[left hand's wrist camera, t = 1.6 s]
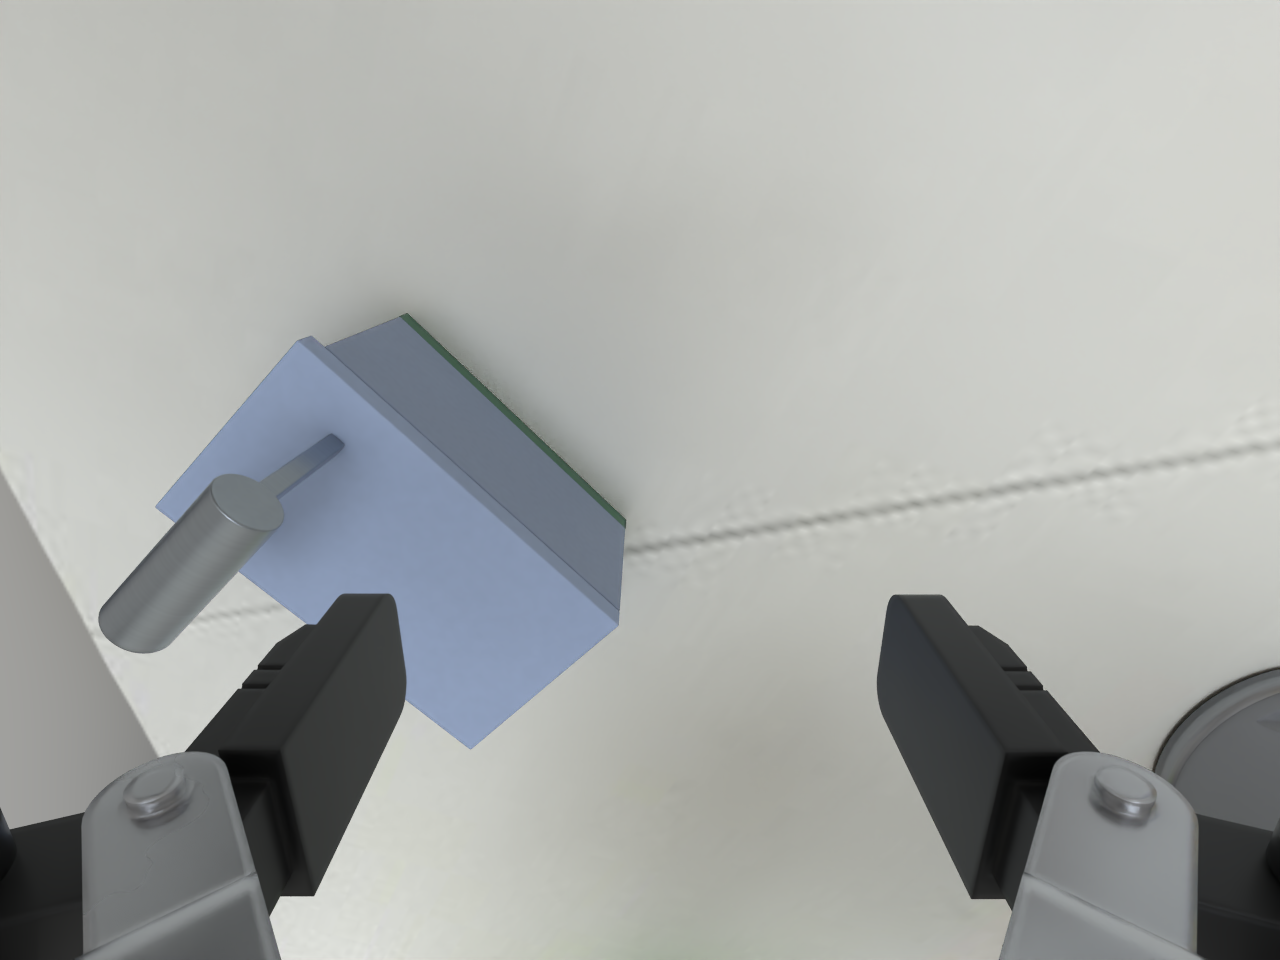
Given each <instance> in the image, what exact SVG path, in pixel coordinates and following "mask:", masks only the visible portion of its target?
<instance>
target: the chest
mask: <svg viewBox="0 0 1280 960" xmlns="http://www.w3.org/2000/svg"><path fill="white" fill-rule="evenodd" d="M325 348H326V349H327V350H328V351H329V352H330V353H332V354H333V355H334V356H335V357H336V358H337V359H338V360H339V361H340V362H342V363H343V364H344V365H345V366H346V367H347V368H348V369H349V370H351V371H352V372H353V373H354V374H355V375H356V376H357V377H358V378H359V379H361V380H362V381H363V382H364V383H365V384H366V385H367V386H368V387H369V388H371V389H372V390H373V391H374V392H375V393H376V394H377V395H378V396H380V397H381V398H382V399H383V400H384V401H385V402H386V403H387V404H388V405H390V406H391V407H392V408H393V409H394V410H395V411H396V412H397V413H399V414H400V415H401V416H402V417H403V418H404V419H405V420H406V421H407V422H409V423H410V424H411V425H412V426H413V427H414V428H415V429H416V430H417V431H419V432H420V433H421V434H422V435H423V436H424V437H425V438H426V439H428V440H429V441H430V442H431V443H432V444H433V445H434V446H435V447H436V448H438V449H439V450H440V451H441V452H442V453H443V454H444V455H445V456H446V457H448V458H449V459H450V460H451V461H452V462H453V463H454V464H455V465H457V466H458V467H459V468H460V469H461V470H462V471H463V472H464V473H465V474H467V475H468V476H469V477H470V478H471V479H472V480H473V481H474V482H476V483H477V484H478V485H479V486H480V487H481V488H482V489H483V490H484V491H486V492H487V493H488V494H489V495H490V496H491V497H492V498H493V499H494V500H496V501H497V502H498V503H499V504H500V505H501V506H502V507H503V508H505V509H506V510H507V511H508V512H509V513H510V514H511V515H512V516H513V517H515V518H516V519H517V520H518V521H519V522H520V523H521V524H522V525H524V526H525V527H526V528H527V529H528V530H529V531H530V532H531V533H532V534H534V535H535V536H536V537H537V538H538V539H539V540H540V541H541V542H542V543H544V544H545V545H546V546H547V547H548V548H549V549H550V550H551V551H553V552H554V553H555V554H556V555H557V556H558V557H559V558H560V559H561V560H563V561H564V562H565V563H566V564H567V565H568V566H569V567H570V568H571V569H573V570H574V571H575V572H576V573H577V574H578V575H579V576H580V577H582V578H583V579H584V580H585V581H586V582H587V583H588V584H589V585H590V586H592V587H593V588H594V589H595V590H596V591H597V592H598V593H599V594H601V595H602V596H603V597H604V598H605V599H606V600H607V601H608V602H609V603H611V604H612V605H613V606H614V607H615V608H616V609H617V610H618V611H619V610H620V597H621V582H622V566H623V551H624V536H625V528H626V520H625V519H624V518H623V517H622V516H621V515H620V514H619V513H618V512H617V511H616V510H615V509H614V508H613V507H612V506H611V505H610V504H609V503H607V502H606V501H605V500H604V499H603V498H602V497H601V496H600V495H599V494H598V493H597V492H596V491H595V490H594V489H593V488H592V487H591V486H589V485H588V484H587V483H586V482H585V481H584V480H583V479H582V478H581V477H580V476H579V475H578V474H577V473H576V472H575V471H574V470H573V469H571V468H570V467H569V466H568V465H567V464H566V463H565V462H564V461H563V460H562V459H561V458H560V457H559V456H558V455H557V454H556V453H555V452H554V451H552V450H551V449H550V448H549V447H548V446H547V445H546V444H545V443H544V442H543V441H542V440H541V439H540V438H539V437H538V436H537V435H536V434H534V433H533V432H532V431H531V430H530V429H529V428H528V427H527V426H526V425H525V424H524V423H523V422H522V421H521V420H520V419H519V418H518V417H516V416H515V415H514V414H513V413H512V412H511V411H510V410H509V409H508V408H507V407H506V406H505V405H504V404H503V403H502V402H501V401H500V400H499V399H497V398H496V397H495V396H494V395H493V394H492V393H491V392H490V391H489V390H488V389H487V388H486V387H485V386H484V385H483V384H482V383H481V382H479V381H478V380H477V379H476V378H475V377H474V376H473V375H472V374H471V373H470V372H469V371H468V370H467V369H466V368H465V367H464V366H463V365H461V364H460V363H459V362H458V361H457V360H456V359H455V358H454V357H453V356H452V355H451V354H450V353H449V352H448V351H447V350H446V349H445V348H443V347H442V346H441V345H440V344H439V343H438V342H437V341H436V340H435V339H434V338H433V337H432V336H431V335H430V334H429V333H428V332H427V331H426V330H424V329H423V328H422V327H421V326H420V325H419V324H418V323H417V322H416V321H415V320H414V319H413V318H412V317H411V316H410V315H409V314H408V313H407V314H404V315H402V316H400V317H398V318H396V319H393V320H391V321H388V322H386V323H383V324H381V325H378V326H376V327H373V328H371V329H368V330H366V331H363V332H361V333H358V334H356V335H353V336H351V337H348V338H345V339H343V340H340V341H338V342H335V343H333V344H330V345H328V346H325Z"/></svg>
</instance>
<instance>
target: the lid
mask: <svg viewBox="0 0 1280 960" xmlns="http://www.w3.org/2000/svg"><path fill="white" fill-rule="evenodd" d="M156 508H157V509H158V510H159V511H161V512H162V513H163V514H165V515H166V516H167V517H168V518H170V519H171V520H172V521H174V522H175V524H174V525H173V526H172V527H171V528H170V530H169V531H168V532H167V533H166V534H165V535H164V536H163V538H162V539H161V540H160V541H159V542H158V543H157V544H156V546H155V547H154V548H153V549H152V550H151V551H150V552H149V554H148V555H147V556H146V557H145V558H144V559H143V560H142V562H141V563H140V564H139V565H138V566H137V567H136V568H135V570H134V571H133V572H132V573H131V574H130V575H129V576H128V578H127V579H126V580H125V581H124V582H123V583H122V584H121V586H120V587H119V588H118V589H117V590H116V591H115V592H114V594H113V595H112V596H111V597H110V598H109V599H108V600H107V602H106V603H105V604H104V605H103V606H102V608H101V610H100V612H99V626H100V628H101V631H102V632H103V634H104V635H105V636H106V638H107V639H108V640H109V641H111V642H112V643H113V644H115V645H116V646H118V647H120V648H122V649H124V650H127V651H130V652H135V653H153V652H157V651H160V650H162V649H164V648H166V647H167V646H169V645H170V644H171V643H172V642H173V641H174V640H175V639H176V637H177V636H178V635H179V634H180V633H181V632H182V631H183V630H184V629H185V628H186V627H187V626H188V625H189V624H190V622H191V621H192V620H193V619H194V618H195V617H196V616H197V615H198V614H199V613H200V612H201V611H202V610H203V609H204V608H205V606H206V605H207V604H208V603H209V602H210V601H211V600H212V599H213V598H214V597H215V596H216V595H217V594H218V593H219V591H220V590H221V589H222V588H223V587H224V586H225V585H226V584H227V583H228V582H229V581H230V580H231V579H232V578H233V577H234V575H235V574H236V573H237V572H238V571H239V572H240V573H241V574H243V575H244V576H245V577H247V578H248V579H249V580H250V581H252V582H253V583H254V584H256V585H257V586H258V587H260V588H261V589H262V590H263V591H265V592H266V593H267V594H269V595H270V596H271V597H273V598H274V599H275V600H276V601H278V602H279V603H280V604H282V605H283V606H284V607H286V608H287V609H288V610H289V611H291V612H292V613H293V614H295V615H296V616H297V617H299V618H300V619H301V620H302V621H304V622H305V623H306V624H317V623H318V622H319V621H320V619H321V618H322V617H323V615H324V614H325V613H326V612H327V610H328V609H329V608H330V607H331V605H332V604H333V603H334V601H335V600H336V599H337V598H338V597H339V596H340V595H341V594H344V593H388V594H391V595H392V596H393V597H394V600H395V602H396V606H397V612H398V619H399V626H400V633H401V640H402V647H403V654H404V661H405V668H406V677H407V687H406V697H405V700H407V701H408V702H409V703H410V704H412V705H413V706H414V707H416V708H417V709H418V710H420V711H421V712H422V713H424V714H425V715H426V716H427V717H429V718H430V719H431V720H433V721H434V722H435V723H437V724H438V725H439V726H440V727H442V728H443V729H444V730H446V731H447V732H448V733H450V734H451V735H452V736H453V737H455V738H456V739H457V740H459V741H460V742H461V743H463V744H464V745H465V746H466V747H468V748H469V749H472V748H473V747H474V746H475V745H477V744H478V743H479V742H480V741H481V740H483V739H484V738H485V737H486V736H487V735H489V734H490V733H491V732H492V731H493V730H495V729H496V728H497V727H498V726H499V725H501V724H502V723H503V722H504V721H505V720H506V719H508V718H509V717H510V716H511V715H512V714H514V713H515V712H516V711H517V710H518V709H520V708H521V707H522V706H523V705H524V704H526V703H527V702H528V701H529V700H530V699H531V698H533V697H534V696H535V695H536V694H537V693H539V692H540V691H541V690H542V689H543V688H545V687H546V686H547V685H548V684H549V683H551V682H552V681H553V680H554V679H555V678H557V677H558V676H559V675H560V674H561V673H562V672H564V671H565V670H566V669H567V668H568V667H570V666H571V665H572V664H573V663H574V662H576V661H577V660H578V659H579V658H580V657H582V656H583V655H584V654H585V653H586V652H587V651H589V650H590V649H591V648H592V647H593V646H595V645H596V644H597V643H598V642H599V641H601V640H602V639H603V638H604V637H605V636H607V635H608V634H609V633H610V632H611V631H613V630H614V629H615V628H616V627H617V626H618V625H619V611H618V610H617V609H616V608H615V607H614V606H613V605H612V604H611V603H609V602H608V601H607V600H606V599H605V598H604V597H603V596H602V595H601V594H599V593H598V592H597V591H596V590H595V589H594V588H593V587H592V586H590V585H589V584H588V583H587V582H586V581H585V580H584V579H583V578H582V577H580V576H579V575H578V574H577V573H576V572H575V571H574V570H573V569H571V568H570V567H569V566H568V565H567V564H566V563H565V562H564V561H563V560H561V559H560V558H559V557H558V556H557V555H556V554H555V553H554V552H553V551H551V550H550V549H549V548H548V547H547V546H546V545H545V544H544V543H542V542H541V541H540V540H539V539H538V538H537V537H536V536H535V535H534V534H532V533H531V532H530V531H529V530H528V529H527V528H526V527H525V526H524V525H522V524H521V523H520V522H519V521H518V520H517V519H516V518H515V517H513V516H512V515H511V514H510V513H509V512H508V511H507V510H506V509H505V508H503V507H502V506H501V505H500V504H499V503H498V502H497V501H496V500H494V499H493V498H492V497H491V496H490V495H489V494H488V493H487V492H486V491H484V490H483V489H482V488H481V487H480V486H479V485H478V484H477V483H476V482H474V481H473V480H472V479H471V478H470V477H469V476H468V475H467V474H465V473H464V472H463V471H462V470H461V469H460V468H459V467H458V466H457V465H455V464H454V463H453V462H452V461H451V460H450V459H449V458H448V457H446V456H445V455H444V454H443V453H442V452H441V451H440V450H439V449H438V448H436V447H435V446H434V445H433V444H432V443H431V442H430V441H429V440H428V439H426V438H425V437H424V436H423V435H422V434H421V433H420V432H419V431H417V430H416V429H415V428H414V427H413V426H412V425H411V424H410V423H409V422H407V421H406V420H405V419H404V418H403V417H402V416H401V415H400V414H399V413H397V412H396V411H395V410H394V409H393V408H392V407H391V406H390V405H388V404H387V403H386V402H385V401H384V400H383V399H382V398H381V397H380V396H378V395H377V394H376V393H375V392H374V391H373V390H372V389H371V388H369V387H368V386H367V385H366V384H365V383H364V382H363V381H362V380H361V379H359V378H358V377H357V376H356V375H355V374H354V373H353V372H352V371H351V370H349V369H348V368H347V367H346V366H345V365H344V364H343V363H342V362H340V361H339V360H338V359H337V358H336V357H335V356H334V355H333V354H332V353H330V352H329V351H328V350H327V349H326V348H325V347H324V346H323V345H321V344H320V343H319V342H318V341H317V340H316V339H315V338H314V337H313V336H309V337H306V338H303V339H300V340H298V341H296V343H295V344H294V345H293V346H292V347H291V348H290V350H289V351H288V352H287V353H286V354H285V355H284V357H283V358H282V359H281V360H280V361H279V362H278V364H277V365H276V366H275V367H274V368H273V369H272V371H271V372H270V373H269V374H268V375H267V376H266V378H265V379H264V380H263V381H262V382H261V383H260V385H259V386H258V387H257V388H256V389H255V390H254V392H253V393H252V394H251V395H250V396H249V397H248V399H247V400H246V401H245V402H244V403H243V404H242V406H241V407H240V408H239V409H238V410H237V411H236V413H235V414H234V415H233V416H232V417H231V418H230V420H229V421H228V422H227V423H226V424H225V426H224V427H223V428H222V429H221V430H220V431H219V433H218V434H217V435H216V436H215V437H214V438H213V440H212V441H211V442H210V443H209V444H208V445H207V447H206V448H205V449H204V450H203V451H202V452H201V454H200V455H199V456H198V457H197V458H196V459H195V461H194V462H193V463H192V464H191V465H190V466H189V468H188V469H187V470H186V471H185V472H184V473H183V475H182V476H181V477H180V478H179V479H178V480H177V482H176V483H175V484H174V485H173V486H172V487H171V489H170V490H169V491H168V492H167V493H166V494H165V496H164V497H163V498H162V499H161V500H160V501H159V503H158V504H157V505H156Z"/></svg>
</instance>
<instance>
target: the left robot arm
mask: <svg viewBox="0 0 1280 960" xmlns="http://www.w3.org/2000/svg"><path fill="white" fill-rule="evenodd" d="M406 687H407V677H406V668H405V661H404V654H403V647H402V640H401V633H400V626H399V619H398V612H397V606H396V602H395V600H394V597H393V596H392V595H391V594H388V593H344V594H341V595H340V596H339V597H338V598H337V599H336V600H335V601H334V603H333V604H332V605H331V607H330V608H329V609H328V610H327V612H326V613H325V614H324V615H323V617H322V618H321V619H320V621H319V622H318V623H317V624H306V625H304V626H303V627H301V628H299V629H298V630H296V631H295V632H293V633H292V634H290V635H289V636H287V637H286V638H284V639H282V640H281V641H279V642H278V643H276V645H275V646H274V647H273V648H272V649H271V650H270V652H269V653H268V654H267V655H266V656H265V658H264V659H263V660H262V661H261V662H260V663H259V665H258V669H257V670H254V671H253V672H252V673H251V674H250V675H249V676H248V678H247V679H246V680H245V681H244V682H243V684H242V689H237V691H236V692H235V693H234V694H233V695H232V697H231V698H230V699H229V700H228V701H227V702H226V704H225V705H224V706H223V707H222V708H221V710H220V711H219V712H218V713H217V714H216V715H215V717H214V718H213V719H212V720H211V721H210V723H209V724H208V725H207V726H206V727H205V728H204V730H203V731H202V732H201V733H200V734H199V736H198V737H197V738H196V739H195V740H194V741H193V743H192V744H191V745H190V746H189V747H188V749H187V750H186V751H185V752H182V753H175V754H171V755H167V756H163V757H160V758H157V759H154V760H151V761H149V762H146V763H144V764H142V765H140V766H138V767H136V768H134V769H132V770H130V771H128V772H126V773H125V774H123V775H122V776H120V777H118V778H117V779H116V780H114V781H113V782H111V783H110V784H109V785H108V786H106V787H105V788H104V789H103V790H102V791H101V792H100V793H99V794H98V795H97V796H96V797H95V798H94V799H93V800H92V802H91V803H90V805H89V806H88V808H87V809H86V811H85V812H84V813H80V814H76V815H71V816H67V817H63V818H58V819H54V820H49V821H45V822H41V823H37V824H32V825H28V826H23V827H19V828H15V829H10V830H9V827H8V825H7V823H6V820H5V818H4V816H3V813H2V811H1V809H0V960H281V957H280V954H279V950H278V947H277V943H276V939H275V936H274V932H273V929H272V925H271V922H270V918H269V916H270V915H271V913H272V911H273V909H274V907H275V905H276V903H277V901H278V899H279V897H280V896H314V895H315V893H316V891H317V889H318V887H319V885H320V883H321V881H322V879H323V876H324V874H325V872H326V870H327V868H328V866H329V864H330V862H331V860H332V858H333V856H334V853H335V851H336V849H337V847H338V845H339V843H340V841H341V839H342V837H343V835H344V833H345V830H346V828H347V826H348V824H349V822H350V820H351V818H352V816H353V814H354V812H355V810H356V807H357V805H358V803H359V801H360V799H361V797H362V795H363V793H364V791H365V789H366V786H367V784H368V782H369V780H370V778H371V776H372V774H373V772H374V770H375V768H376V766H377V763H378V761H379V759H380V757H381V755H382V753H383V751H384V749H385V747H386V745H387V743H388V740H389V738H390V736H391V734H392V732H393V730H394V728H395V726H396V724H397V722H398V719H399V717H400V715H401V713H402V710H403V706H404V702H405V697H406ZM877 694H878V701H879V705H880V709H881V712H882V715H883V717H884V720H885V722H886V724H887V726H888V728H889V730H890V732H891V734H892V736H893V738H894V740H895V742H896V744H897V746H898V749H899V751H900V753H901V755H902V757H903V759H904V761H905V763H906V765H907V767H908V769H909V771H910V773H911V775H912V777H913V780H914V782H915V784H916V786H917V788H918V790H919V792H920V794H921V796H922V798H923V800H924V802H925V804H926V806H927V808H928V811H929V813H930V815H931V817H932V819H933V821H934V823H935V825H936V827H937V829H938V831H939V833H940V835H941V837H942V840H943V842H944V844H945V846H946V848H947V850H948V852H949V854H950V856H951V858H952V860H953V862H954V864H955V866H956V868H957V871H958V873H959V875H960V877H961V879H962V881H963V883H964V885H965V887H966V889H967V891H968V893H969V895H970V897H971V899H1006V901H1007V903H1008V905H1009V906H1010V908H1011V910H1012V914H1011V918H1010V922H1009V925H1008V929H1007V932H1006V936H1005V939H1004V943H1003V947H1002V950H1001V954H1000V957H999V960H1280V818H1279V820H1278V822H1277V825H1276V827H1275V829H1274V831H1269V830H1265V829H1261V828H1256V827H1252V826H1247V825H1243V824H1239V823H1234V822H1230V821H1226V820H1221V819H1217V818H1213V817H1208V816H1204V815H1200V814H1197V813H1195V811H1194V809H1193V808H1192V806H1191V805H1190V803H1189V802H1188V800H1187V799H1186V798H1185V797H1184V796H1183V795H1182V794H1181V793H1180V792H1179V791H1178V790H1177V789H1176V788H1175V787H1174V786H1173V785H1171V784H1170V783H1169V782H1167V781H1166V780H1164V779H1163V778H1162V777H1160V776H1158V775H1157V774H1155V773H1154V772H1152V771H1150V770H1148V769H1146V768H1144V767H1142V766H1140V765H1138V764H1136V763H1134V762H1131V761H1129V760H1126V759H1123V758H1120V757H1117V756H1113V755H1109V754H1105V753H1100V752H1099V751H1098V750H1097V748H1096V747H1095V746H1094V745H1093V744H1092V743H1091V741H1090V740H1089V739H1088V738H1087V737H1086V736H1085V734H1084V733H1083V732H1082V731H1081V730H1080V729H1079V727H1078V726H1077V725H1076V724H1075V723H1074V722H1073V720H1072V719H1071V718H1070V717H1069V716H1068V714H1067V713H1066V712H1065V711H1064V710H1063V709H1062V707H1061V706H1060V705H1059V704H1058V703H1057V702H1056V700H1055V699H1054V698H1053V697H1052V696H1051V695H1050V693H1049V692H1048V691H1044V690H1043V685H1042V684H1041V683H1040V682H1039V681H1038V679H1037V678H1036V677H1035V676H1034V675H1033V674H1032V672H1031V671H1027V666H1026V665H1025V664H1024V663H1023V662H1022V661H1021V659H1020V658H1019V657H1018V656H1017V655H1016V654H1015V652H1014V651H1013V650H1012V649H1011V648H1010V647H1009V645H1008V644H1006V643H1004V642H1003V641H1001V640H1000V639H998V638H997V637H995V636H994V635H992V634H991V633H989V632H987V631H986V630H984V629H983V628H981V627H980V626H968V625H967V624H966V623H965V621H964V620H963V619H962V618H961V616H960V615H959V614H958V613H957V611H956V610H955V609H954V608H953V606H952V605H951V604H950V603H949V601H948V600H947V599H946V598H945V597H944V596H942V595H893V596H892V597H891V598H890V600H889V603H888V606H887V612H886V619H885V625H884V632H883V639H882V646H881V653H880V660H879V667H878V674H877Z"/></svg>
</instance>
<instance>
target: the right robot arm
mask: <svg viewBox="0 0 1280 960" xmlns="http://www.w3.org/2000/svg"><path fill="white" fill-rule="evenodd" d="M1155 774H1157V775H1158V776H1160V777H1162V778H1163V779H1164V780H1166V781H1167V782H1169V783H1170V784H1171V785H1173V786H1174V787H1175V788H1176V789H1177V790H1178V791H1179V792H1180V793H1181V794H1182V795H1183V796H1184V797H1185V798H1186V799H1187V800H1188V802H1189V803H1190V805H1191V806H1192V808H1193V809H1194V811H1195V813H1197V814H1200V815H1204V816H1208V817H1213V818H1217V819H1221V820H1226V821H1230V822H1234V823H1239V824H1243V825H1247V826H1252V827H1256V828H1261V829H1265V830H1269V831H1274V829H1275V827H1276V825H1277V822H1278V820H1279V818H1280V669H1279V670H1274V671H1270V672H1267V673H1263V674H1260V675H1257V676H1254V677H1252V678H1249V679H1246V680H1244V681H1242V682H1240V683H1237V684H1235V685H1233V686H1231V687H1229V688H1227V689H1226V690H1224V691H1222V692H1220V693H1219V694H1217V695H1216V696H1214V697H1212V698H1211V699H1210V700H1208V701H1207V702H1205V703H1204V704H1203V705H1201V706H1200V707H1199V708H1198V709H1197V710H1195V711H1194V712H1193V713H1192V714H1191V715H1190V716H1189V717H1188V718H1187V719H1186V720H1185V721H1184V722H1183V723H1182V724H1181V725H1180V726H1179V727H1178V728H1177V730H1176V731H1175V732H1174V734H1173V735H1172V736H1171V738H1170V739H1169V741H1168V742H1167V744H1166V745H1165V747H1164V749H1163V751H1162V753H1161V755H1160V757H1159V760H1158V763H1157V766H1156V769H1155Z"/></svg>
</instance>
